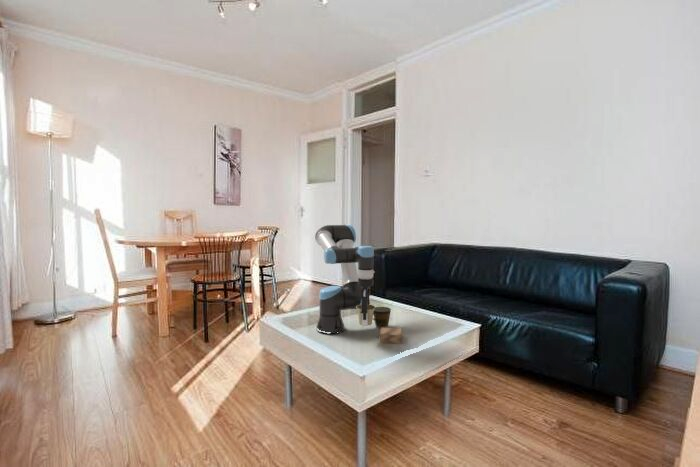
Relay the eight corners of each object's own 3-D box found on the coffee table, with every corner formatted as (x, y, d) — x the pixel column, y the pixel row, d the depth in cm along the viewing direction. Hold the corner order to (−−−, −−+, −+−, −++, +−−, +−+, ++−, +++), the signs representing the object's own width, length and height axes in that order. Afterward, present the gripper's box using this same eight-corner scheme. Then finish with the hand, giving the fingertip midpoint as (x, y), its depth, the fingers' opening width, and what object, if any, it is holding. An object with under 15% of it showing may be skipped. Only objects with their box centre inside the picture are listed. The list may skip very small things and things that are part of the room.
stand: (379, 342, 176) (379, 334, 176) (380, 334, 187) (380, 327, 187) (401, 343, 174) (401, 335, 174) (401, 335, 185) (401, 328, 185)
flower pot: (375, 321, 182) (375, 304, 181) (374, 327, 172) (375, 310, 172) (357, 320, 183) (357, 303, 182) (355, 326, 173) (355, 309, 172)
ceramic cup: (387, 323, 206) (387, 306, 205) (393, 328, 196) (393, 310, 195) (365, 324, 203) (365, 307, 202) (370, 330, 193) (370, 312, 192)
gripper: (371, 282, 164) (371, 330, 166) (375, 273, 185) (374, 316, 187) (355, 282, 165) (355, 330, 167) (360, 273, 186) (360, 315, 188)
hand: (365, 322), depth 177 cm, fingers closed on flower pot, 8 cm apart
